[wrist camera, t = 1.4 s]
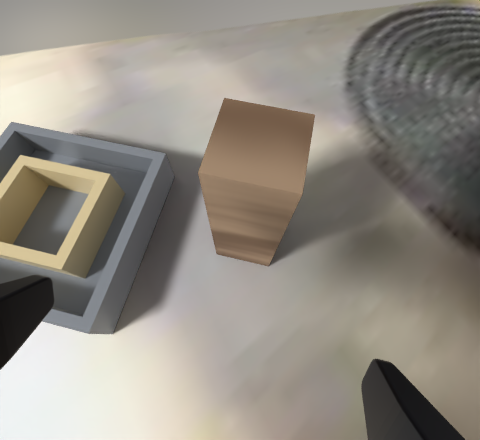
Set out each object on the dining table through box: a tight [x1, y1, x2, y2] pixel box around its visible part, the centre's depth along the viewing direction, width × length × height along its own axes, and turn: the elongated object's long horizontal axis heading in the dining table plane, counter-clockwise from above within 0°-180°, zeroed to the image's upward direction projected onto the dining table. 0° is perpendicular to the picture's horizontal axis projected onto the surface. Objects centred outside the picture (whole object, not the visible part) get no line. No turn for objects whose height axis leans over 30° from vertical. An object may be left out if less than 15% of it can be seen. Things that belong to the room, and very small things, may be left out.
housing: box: [0, 122, 175, 334], centre depth 21 cm, size 14×14×4 cm
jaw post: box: [198, 98, 315, 266], centre depth 17 cm, size 4×4×12 cm
